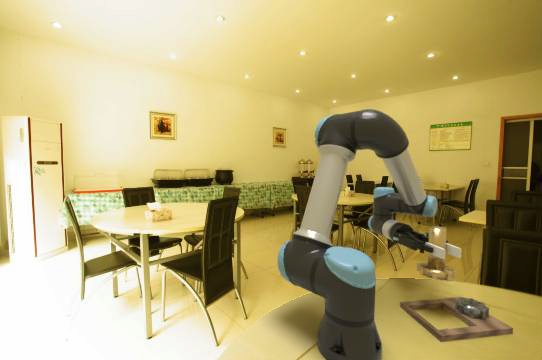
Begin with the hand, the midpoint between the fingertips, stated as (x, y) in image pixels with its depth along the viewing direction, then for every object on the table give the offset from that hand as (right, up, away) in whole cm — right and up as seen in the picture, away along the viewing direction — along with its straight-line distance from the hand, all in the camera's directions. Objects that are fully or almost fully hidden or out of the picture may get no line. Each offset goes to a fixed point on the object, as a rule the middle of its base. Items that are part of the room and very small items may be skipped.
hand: (452, 253), depth 71 cm
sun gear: (+8, -18, +3) cm, 20 cm away
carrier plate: (+2, -20, +2) cm, 20 cm away
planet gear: (-1, -8, +6) cm, 10 cm away
